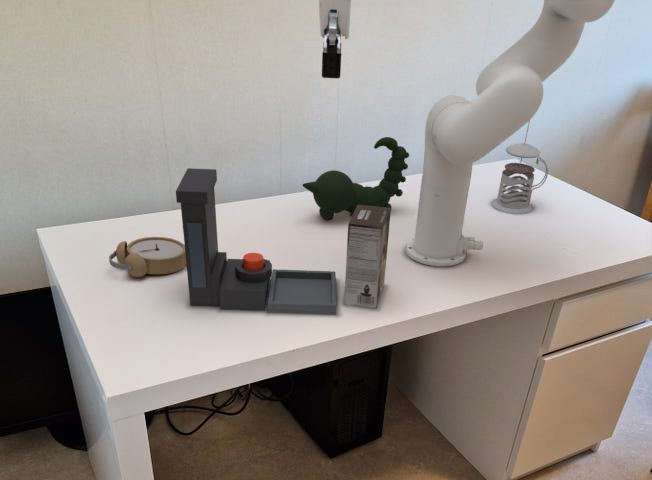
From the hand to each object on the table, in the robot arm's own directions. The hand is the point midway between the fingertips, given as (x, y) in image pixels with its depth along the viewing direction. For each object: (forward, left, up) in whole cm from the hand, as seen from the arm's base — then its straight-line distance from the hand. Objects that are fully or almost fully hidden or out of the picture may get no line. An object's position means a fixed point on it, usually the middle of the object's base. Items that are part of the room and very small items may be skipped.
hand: (331, 71), depth 119 cm
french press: (-48, -30, -36) cm, 67 cm away
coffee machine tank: (+22, +19, -36) cm, 46 cm away
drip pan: (+4, +19, -36) cm, 40 cm away
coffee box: (-8, +18, -36) cm, 41 cm away
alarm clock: (+34, +9, -36) cm, 50 cm away
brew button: (+13, +19, -30) cm, 38 cm away
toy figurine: (-7, -20, -36) cm, 42 cm away
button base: (+14, +19, -36) cm, 43 cm away
